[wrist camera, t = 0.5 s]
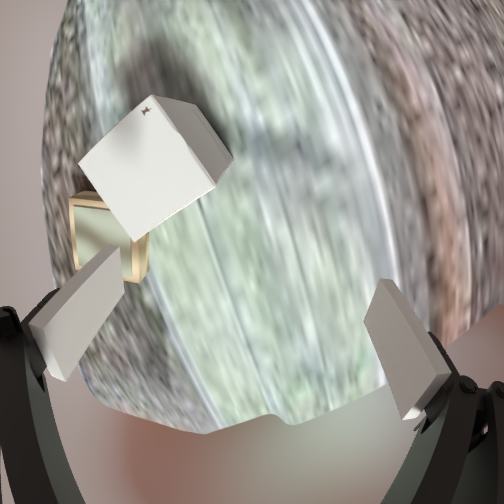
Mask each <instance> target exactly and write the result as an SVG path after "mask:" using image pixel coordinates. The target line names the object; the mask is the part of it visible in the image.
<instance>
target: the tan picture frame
mask: <svg viewBox="0 0 504 504" xmlns="http://www.w3.org/2000/svg"><path fill="white" fill-rule="evenodd" d="M69 213H70V226H71V236H72V246H73V254H74V261H75V268H76V270H80V269H81V268H82V267H83V266H84V265H85V264H86V263H88V262H89V261H90V260H91V259H92V258H93V257H94V256H95V255H96V254H97V253H98V252H99V251H100V250H102V249H103V248H104V247H105V246H106V245H113V246H120V257H121V267H122V276H123V280H125V281H130V282H135V283H140V282H141V281H142V279H143V278H144V276H145V275H146V273H147V272H148V271H149V232H147V233H146V234H145V235H143V236H142V237H141V238H139V239H138V240H137V241H136V242H134V241H133V240H132V239H131V237H130V236H129V235H128V233H127V232H126V231H125V229H124V228H123V227H122V225H121V224H120V223H119V221H118V220H117V219H116V217H115V216H114V215H113V213H112V212H111V211H110V209H109V208H108V206H107V205H106V204H105V202H104V201H103V199H102V198H101V196H100V195H99V194H98V192H93V191H82V192H80V193H78V194H76V195H74V196H72V197H70V198H69Z"/></svg>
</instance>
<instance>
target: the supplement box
mask: <svg viewBox="0 0 504 504" xmlns="http://www.w3.org/2000/svg"><path fill="white" fill-rule="evenodd" d="M233 161H234V159H233V157H232V156H231V154H230V153H229V151H228V150H227V148H226V147H225V145H224V144H223V143H222V141H221V140H220V138H219V137H218V135H217V134H216V132H215V131H214V129H213V128H212V127H211V125H210V124H209V122H208V121H207V119H206V118H205V117H204V115H203V114H202V112H201V111H200V109H199V108H198V107H197V105H195V104H191V103H188V102H184V101H179V100H175V99H171V98H166V97H161V96H157V95H152V94H151V95H149V96H148V97H147V98H145V99H144V100H143V101H142V102H141V103H140V104H138V105H137V106H136V107H135V108H134V109H133V110H131V111H130V112H129V113H128V114H127V115H126V116H125V117H124V118H123V119H122V120H121V121H119V122H118V123H117V124H116V125H115V126H114V127H113V128H112V129H111V130H110V131H109V132H108V133H107V134H106V135H105V136H104V137H103V138H102V139H101V140H100V141H99V142H98V143H97V144H96V145H95V146H94V147H93V148H92V149H91V150H90V151H89V152H88V153H87V154H86V155H85V156H84V158H83V159H82V160H81V161H80V162H79V163H78V164H79V166H80V167H81V168H82V170H83V171H84V173H85V174H86V176H87V177H88V179H89V180H90V182H91V183H92V185H93V186H94V188H95V189H96V191H97V192H98V194H99V195H100V196H101V198H102V199H103V201H104V202H105V204H106V205H107V206H108V208H109V209H110V211H111V212H112V213H113V215H114V216H115V217H116V219H117V220H118V221H119V223H120V224H121V225H122V227H123V228H124V229H125V231H126V232H127V233H128V235H129V236H130V237H131V239H132V240H133V241H134V242H136V241H137V240H138V239H139V238H141V237H142V236H143V235H145V234H146V233H147V232H149V231H150V230H152V229H153V228H155V227H156V226H157V225H159V224H160V223H162V222H163V221H165V220H166V219H167V218H169V217H170V216H172V215H173V214H175V213H176V212H178V211H179V210H181V209H182V208H184V207H186V206H187V205H189V204H190V203H192V202H193V201H195V200H196V199H198V198H199V197H201V196H203V195H204V194H206V193H207V192H209V191H210V190H212V189H214V188H215V187H216V185H217V183H218V182H219V180H220V179H221V177H222V176H223V175H224V173H225V172H226V171H227V169H228V168H229V166H230V165H231V164H232V163H233Z"/></svg>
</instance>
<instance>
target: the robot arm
mask: <svg viewBox="0 0 504 504" xmlns="http://www.w3.org/2000/svg"><path fill="white" fill-rule="evenodd" d="M124 293H125V292H124V285H123V276H122V267H121V257H120V246H113V245H106V246H105V247H104V248H103V249H102V250H100V251H99V252H98V253H97V254H96V255H95V256H94V257H93V258H92V259H91V260H90V261H89V262H88V263H86V264H85V265H84V266H83V267H82V268H81V269H80V270H79V271H78V272H77V273H76V274H75V275H74V276H73V277H72V278H71V279H70V280H69V281H68V282H67V283H66V284H65V285H64V286H63V287H62V288H61V289H60V288H57V289H55V290H53V291H52V292H50V293H48V294H47V295H46V296H45V297H44V298H43V299H42V301H41V302H40V303H39V304H38V305H37V307H35V308H34V309H33V310H32V311H31V312H30V313H29V314H28V316H26V317H25V318H24V320H23V321H22V322H21V323H20V321H19V318H18V315H17V313H16V310H15V309H14V308H13V307H10V306H3V307H0V450H1V449H2V454H3V459H4V464H5V469H6V473H7V477H8V481H9V485H10V488H11V492H12V495H13V498H14V502H15V504H85V501H84V499H83V497H82V495H81V493H80V491H79V488H78V486H77V484H76V481H75V479H74V476H73V474H72V471H71V469H70V466H69V463H68V461H67V458H66V455H65V452H64V449H63V446H62V443H61V440H60V436H59V433H58V430H57V426H56V422H55V419H54V415H53V411H52V407H51V403H50V398H49V393H48V388H47V383H46V378H45V376H44V373H43V371H44V370H45V368H46V367H47V368H48V370H49V372H50V374H51V376H52V377H55V378H57V379H60V380H62V381H65V382H66V381H67V380H68V378H69V376H70V375H71V373H72V371H73V370H74V368H75V366H76V365H77V363H78V362H79V360H80V358H81V357H82V355H83V354H84V352H85V350H86V349H87V347H88V346H89V344H90V343H91V341H92V340H93V338H94V336H95V335H96V333H97V332H98V330H99V329H100V327H101V326H102V324H103V323H104V321H105V320H106V318H107V317H108V316H109V314H110V313H111V311H112V310H113V308H114V307H115V305H116V304H117V303H118V301H119V300H120V298H121V297H122V296H123V294H124ZM364 324H365V326H366V328H367V331H368V333H369V335H370V338H371V340H372V343H373V345H374V347H375V350H376V352H377V355H378V357H379V360H380V362H381V365H382V367H383V370H384V372H385V375H386V378H387V380H388V383H389V386H390V388H391V391H392V394H393V396H394V399H395V402H396V404H397V407H398V410H399V413H400V416H401V419H402V420H405V419H411V418H417V416H418V415H419V414H420V413H421V412H422V411H423V409H424V410H425V412H426V416H425V417H424V418H423V420H422V421H421V422H420V423H419V424H418V425H417V426H416V427H415V429H414V431H416V430H417V429H418V428H419V430H418V432H417V435H416V437H415V439H414V441H413V444H412V446H411V448H410V450H409V452H408V454H407V457H406V459H405V461H404V463H403V465H402V467H401V469H400V470H399V472H398V474H397V476H396V478H395V480H394V482H393V483H392V485H391V487H390V489H389V490H388V492H387V494H386V495H385V497H384V499H383V501H382V502H381V504H504V383H502V382H500V381H495V382H493V383H492V384H491V386H490V387H489V388H488V389H482V388H478V386H477V384H476V383H475V382H474V380H472V379H471V378H469V377H467V376H464V375H463V376H460V375H459V373H458V371H457V369H456V368H455V366H454V364H453V363H452V361H451V359H450V358H449V356H448V354H446V351H445V349H444V348H443V346H442V345H441V343H440V341H439V340H438V338H436V337H435V336H434V335H433V334H432V333H431V332H427V331H426V329H425V327H424V326H423V324H422V323H421V321H420V320H419V318H418V317H417V315H416V314H415V312H414V310H413V309H412V308H411V306H410V305H409V303H408V302H407V300H406V299H405V297H404V296H403V294H402V293H401V291H400V290H399V289H398V287H397V286H396V284H395V283H394V282H393V280H390V279H381V278H380V279H379V282H378V285H377V288H376V290H375V293H374V296H373V298H372V301H371V304H370V306H369V309H368V311H367V314H366V316H365V319H364ZM487 425H488V432H487V433H486V434H484V428H485V427H486V426H487ZM0 504H2V494H1V475H0Z"/></svg>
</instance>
